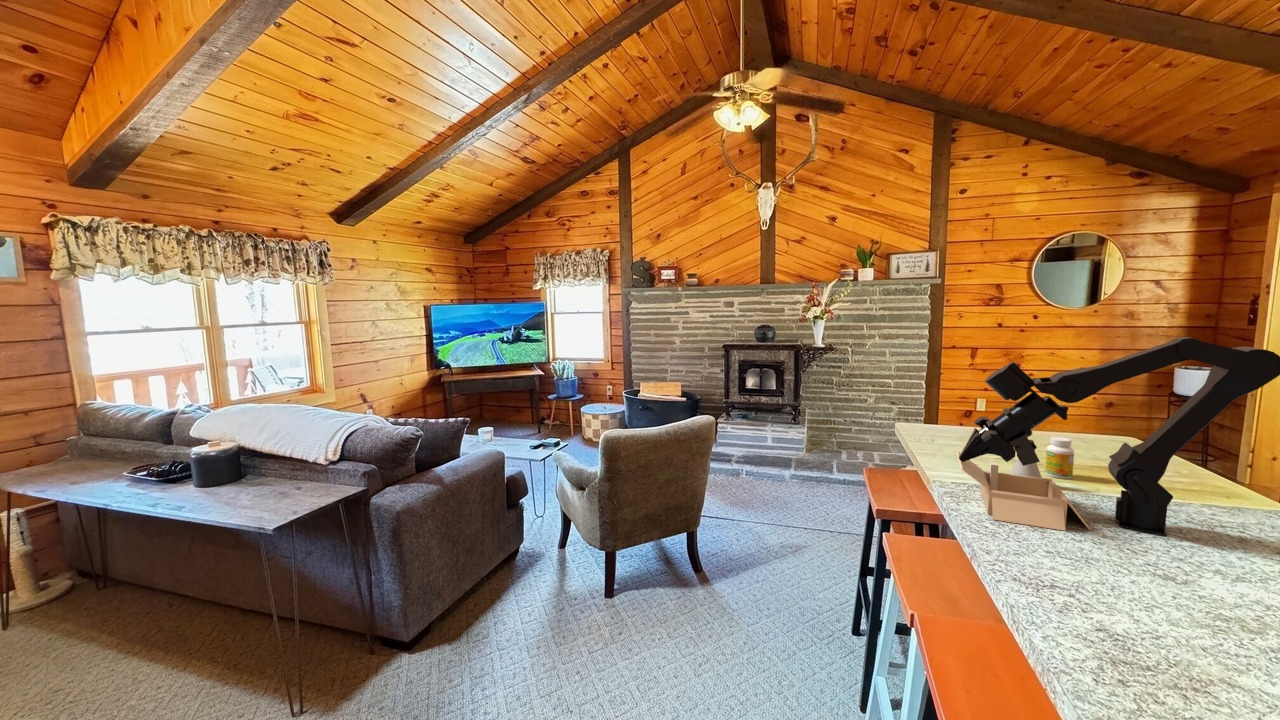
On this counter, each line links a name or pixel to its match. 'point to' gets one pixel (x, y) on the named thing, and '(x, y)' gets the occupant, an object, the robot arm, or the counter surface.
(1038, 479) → the carton
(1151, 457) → the robot arm
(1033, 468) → the flask
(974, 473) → the far flap
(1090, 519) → the counter surface
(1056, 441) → the supplement bottle
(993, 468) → the foam post
